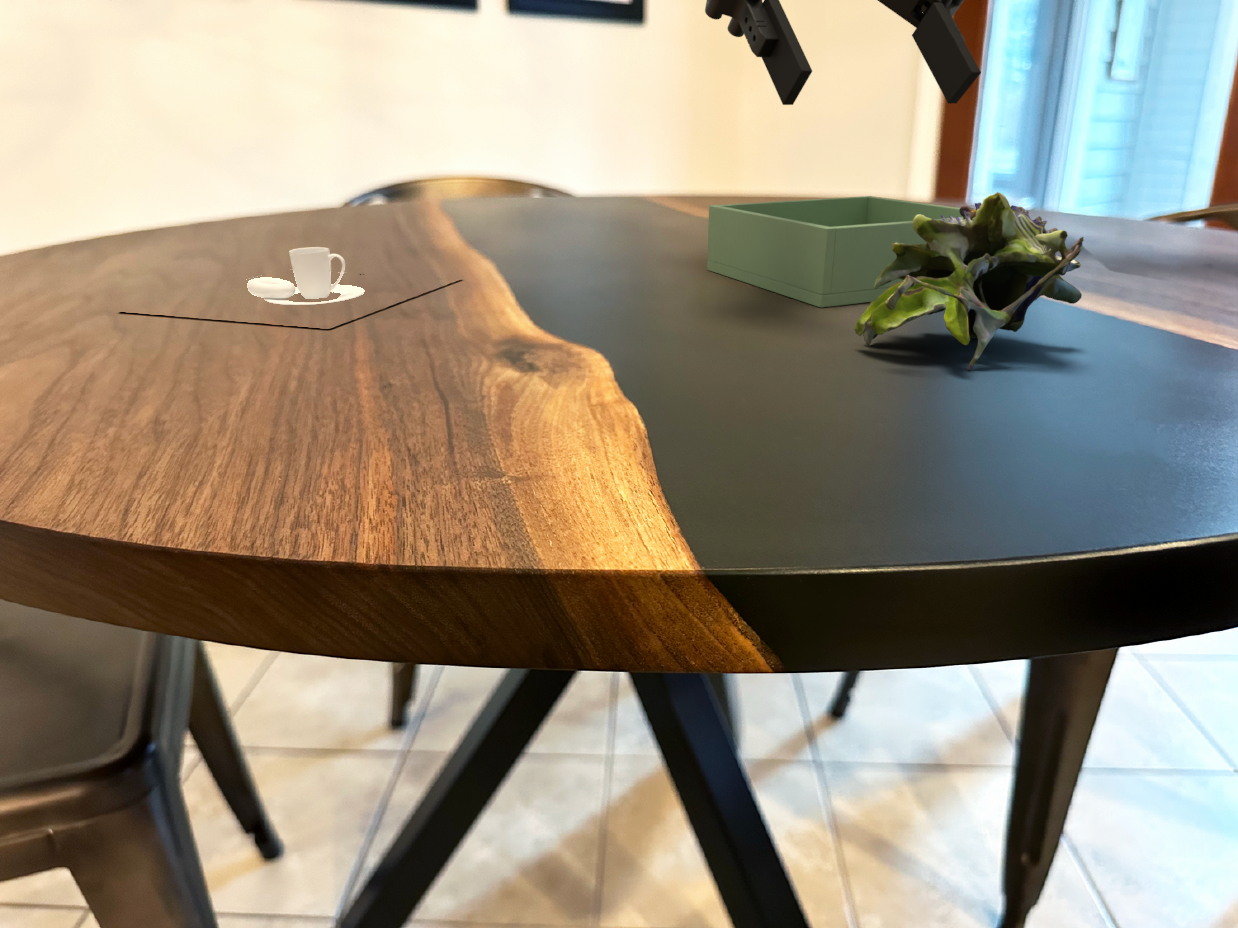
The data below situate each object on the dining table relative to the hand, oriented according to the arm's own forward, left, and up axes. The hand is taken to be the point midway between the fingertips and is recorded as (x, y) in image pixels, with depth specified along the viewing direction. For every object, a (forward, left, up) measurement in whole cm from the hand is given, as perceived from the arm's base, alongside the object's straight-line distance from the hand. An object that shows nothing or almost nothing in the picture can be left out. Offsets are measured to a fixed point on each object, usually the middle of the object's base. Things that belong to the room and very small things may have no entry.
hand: (884, 89), depth 55 cm
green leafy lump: (0, +10, -16) cm, 19 cm away
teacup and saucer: (+37, -28, -16) cm, 49 cm away
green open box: (-9, -14, -15) cm, 23 cm away
